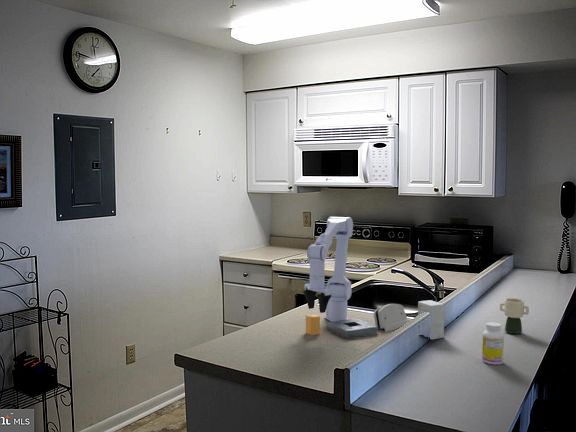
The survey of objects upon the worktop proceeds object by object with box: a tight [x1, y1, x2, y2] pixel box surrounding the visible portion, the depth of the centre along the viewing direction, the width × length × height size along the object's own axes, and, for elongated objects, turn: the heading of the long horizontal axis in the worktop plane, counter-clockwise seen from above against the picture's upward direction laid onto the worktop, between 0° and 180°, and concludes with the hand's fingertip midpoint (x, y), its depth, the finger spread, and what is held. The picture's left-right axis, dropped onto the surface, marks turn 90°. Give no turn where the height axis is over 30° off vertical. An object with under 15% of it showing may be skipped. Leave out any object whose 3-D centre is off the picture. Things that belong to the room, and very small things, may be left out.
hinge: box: [373, 303, 411, 333], centre depth 226 cm, size 17×5×10 cm, turn 131°
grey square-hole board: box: [327, 317, 378, 340], centre depth 218 cm, size 14×14×3 cm
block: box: [305, 313, 321, 336], centre depth 216 cm, size 4×4×7 cm
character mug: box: [499, 297, 530, 334], centre depth 216 cm, size 11×7×13 cm, turn 52°
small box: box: [417, 299, 445, 340], centre depth 212 cm, size 8×6×13 cm
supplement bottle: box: [481, 321, 505, 366], centre depth 183 cm, size 7×7×13 cm
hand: (316, 310), depth 214 cm, fingers open, 7 cm apart
